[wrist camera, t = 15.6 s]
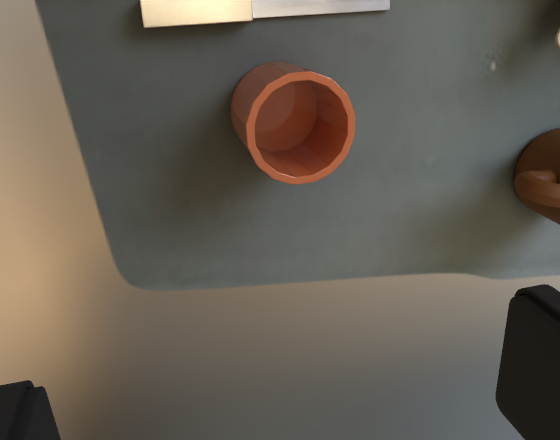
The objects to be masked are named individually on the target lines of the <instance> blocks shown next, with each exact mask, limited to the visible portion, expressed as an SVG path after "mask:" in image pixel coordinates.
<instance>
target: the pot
mask: <svg viewBox="0 0 560 440" xmlns="http://www.w3.org/2000/svg"><path fill="white" fill-rule="evenodd" d="M230 113H231V121H232V125H233V128H234V130H235V132H236V134H237V135H238V137H239V139H240V141H241V142H242V144H243V145H244V147H245V148H246V150H247V151H248V153H249V154H250V156H251V157H252V159H253V160H254V162H255V163H256V165H257V166H258V167H259V168H260V169H261V170H263V171H264V172H265V173H266V174H268V175H269V176H270V177H271V178H273V179H275V180H278V181H282V182H285V183H289V184H294V185H295V184H303V183H311V182H315V181H317V180H319V179H321V178H323V177H324V176H326V175H328V174H330V173H332V171H334V170H335V169H336V168H337V167H338V165H339V164H340V163H341V162H342V161H343V160H344V159H345V157H346V156H347V155H348V152H349V149H350V147H351V144H352V142H353V139H354V136H355V112H354V110H353V107H352V105H351V102H350V100H349V97H348V95H347V93H346V92H345V91H344V90H343V89H342V88H341V87H340V86H339V85H338V84H337V83H336V82H335V81H334V80H333V79H331V78H329V77H326V76H324V75H321V74H318V73H315V72H313V71H310V70H307V69H305V68H302V67H299V66H296V65H294V64H291V63H288V62H268V63H265V64H261V65H259V66H257V67H255V68H254V69H252V70H250V71H249V72H248V73H247V74H246V75H245V76H244V77H243V78H242V79H241V80H240V82H239V83H238V85H237V87H236V89H235V91H234V93H233V96H232V100H231V107H230Z"/></svg>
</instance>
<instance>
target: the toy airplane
mask: <svg viewBox="0 0 560 440" xmlns="http://www.w3.org/2000/svg"><path fill="white" fill-rule="evenodd" d="M555 43H556V46H557V48H558V49H559V50H560V27H559V29H558V32H557V34H556V36H555Z"/></svg>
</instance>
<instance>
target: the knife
mask: <svg viewBox="0 0 560 440" xmlns="http://www.w3.org/2000/svg"><path fill="white" fill-rule="evenodd" d="M140 7H141V13H142V20H143V27H144V28H154V27H169V26H185V25H201V24H217V23H232V22H248V21H253V18H268V17H284V16H300V15H316V14H332V13H348V12H364V11H380V10H390V0H140Z"/></svg>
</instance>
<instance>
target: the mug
mask: <svg viewBox="0 0 560 440" xmlns="http://www.w3.org/2000/svg"><path fill="white" fill-rule="evenodd" d="M514 186H515V189H516V192H517V194H518V197H519V198H520V200H521V201H522V202H523V203H524V204H525V205H526V206H527V207H529V208H530V209H532V210H534V211H535V212H537V213H539V214H541V215H543V216H545V217H547V218H549V219H550V220H552V221H554V222H556V223H558V224H560V129H555V130H551V131H549V132H546V133H544V134H542V135H541V136H539V137H538V138H536V139H535V140H534V141H533V142H532V143H531V144H530V145H529V146H528V147H527V148H526V149H525V151H524V152H523V154H522V155H521V157H520V159H519V161H518V164H517V167H516V171H515V178H514Z"/></svg>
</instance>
